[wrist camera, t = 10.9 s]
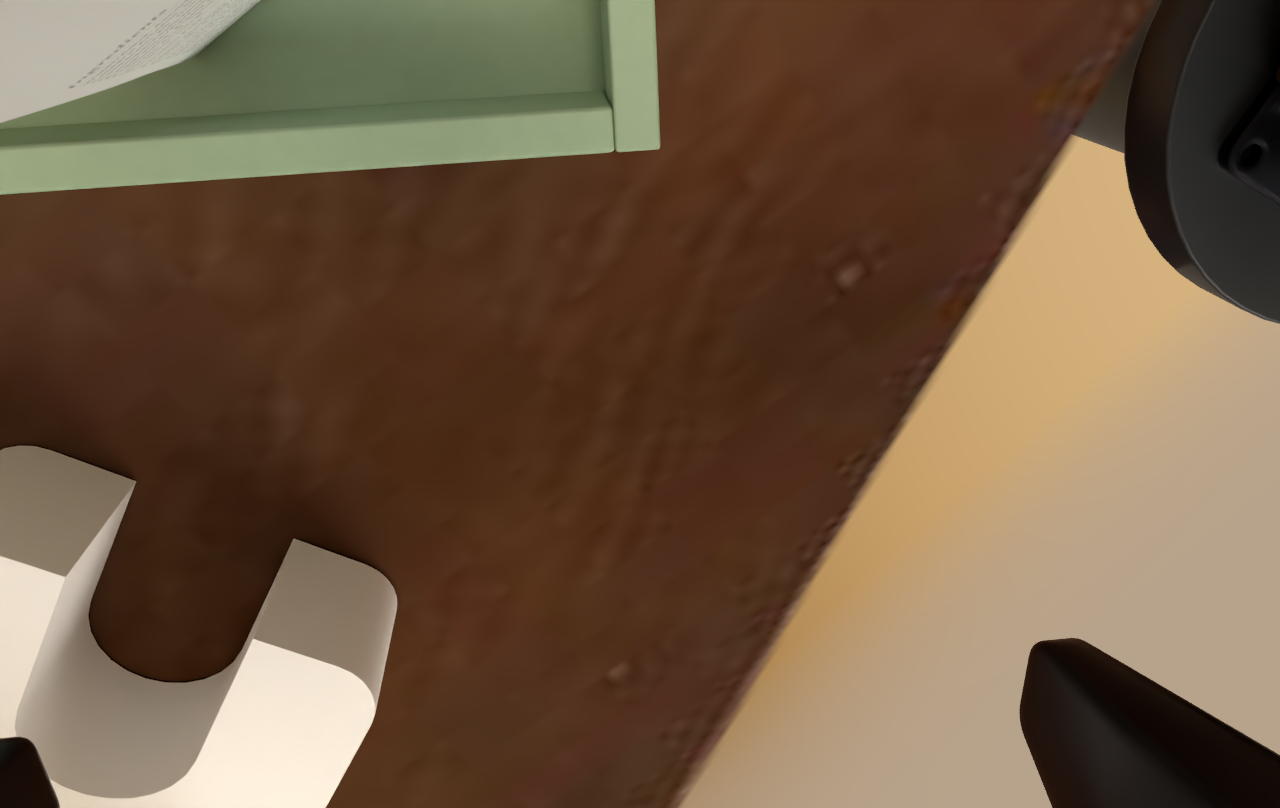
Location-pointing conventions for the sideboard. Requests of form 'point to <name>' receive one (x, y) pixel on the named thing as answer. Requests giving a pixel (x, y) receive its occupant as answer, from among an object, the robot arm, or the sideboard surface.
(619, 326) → the sideboard surface
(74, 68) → the small box
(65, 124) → the tray
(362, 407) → the sideboard surface
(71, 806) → the white slotted holder
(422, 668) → the sideboard surface
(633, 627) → the sideboard surface
